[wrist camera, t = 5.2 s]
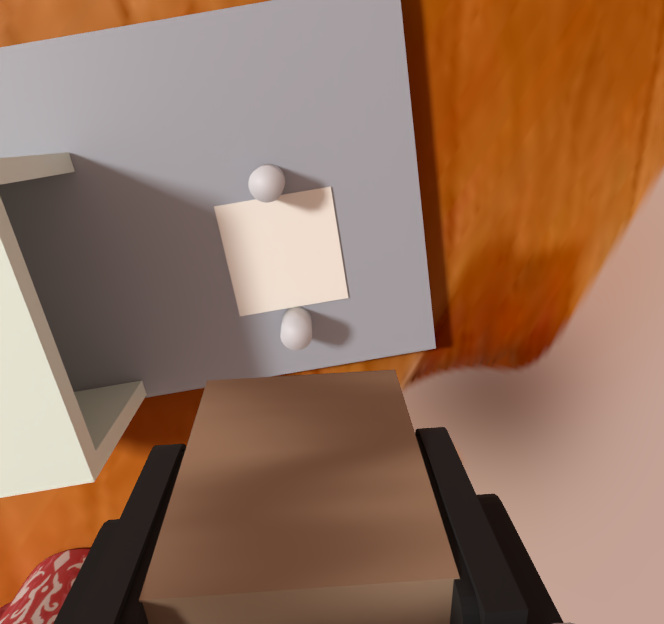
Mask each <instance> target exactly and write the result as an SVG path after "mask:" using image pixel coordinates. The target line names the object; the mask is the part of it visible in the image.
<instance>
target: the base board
mask: <svg viewBox="0 0 664 624" xmlns="http://www.w3.org/2000/svg"><path fill="white" fill-rule="evenodd" d="M66 152H69V155H70V158H71V161H72V164H73V167H74V170H75V172H71V173H65V174H59V175H53V176H48V177H42V178H36V179H30V180H24V181H19V182H13V183H7V184H1V185H0V197H1V200H2V202H3V205H4V208H5V210H6V213H7V216H8V218H9V221H10V224H11V226H12V229H13V232H14V234H15V237H16V240H17V242H18V245H19V248H20V250H21V253H22V256H23V258H24V261H25V264H26V266H27V269H28V272H29V274H30V277H31V280H32V282H33V285H34V288H35V290H36V293H37V296H38V298H39V301H40V304H41V306H42V309H43V312H44V314H45V317H46V320H47V322H48V325H49V328H50V330H51V333H52V336H53V338H54V341H55V344H56V346H57V349H58V352H59V354H60V357H61V360H62V362H63V365H64V368H65V370H66V373H67V376H68V378H69V381H70V384H71V386H72V389H73V392H77V391H82V390H88V389H94V388H100V387H106V386H112V385H118V384H124V383H130V382H135V381H141V380H142V382H143V385H144V388H145V391H146V396H145V398H147V397H153V396H159V395H164V394H170V393H176V392H182V391H188V390H194V389H200V388H205V386H206V383H207V380H223V379H241V378H259V377H271V376H276V375H282V374H288V373H294V372H300V371H306V370H312V369H318V368H324V367H329V366H335V365H341V364H347V363H353V362H359V361H365V360H371V359H377V358H383V357H388V356H394V355H400V354H406V353H412V352H418V351H424V350H430V349H436V344H435V334H434V325H433V315H432V305H431V295H430V285H429V275H428V265H427V255H426V246H425V236H424V226H423V216H422V206H421V196H420V186H419V177H418V167H417V157H416V147H415V137H414V127H413V117H412V108H411V98H410V88H409V78H408V68H407V58H406V48H405V38H404V29H403V19H402V9H401V0H272V1H267V2H261V3H255V4H249V5H243V6H238V7H232V8H226V9H220V10H215V11H209V12H203V13H197V14H191V15H186V16H180V17H174V18H168V19H163V20H157V21H151V22H145V23H139V24H134V25H128V26H122V27H116V28H111V29H105V30H99V31H93V32H88V33H82V34H76V35H70V36H64V37H59V38H53V39H47V40H41V41H36V42H30V43H24V44H18V45H12V46H7V47H1V48H0V158H7V157H19V156H31V155H42V154H54V153H66Z"/></svg>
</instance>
